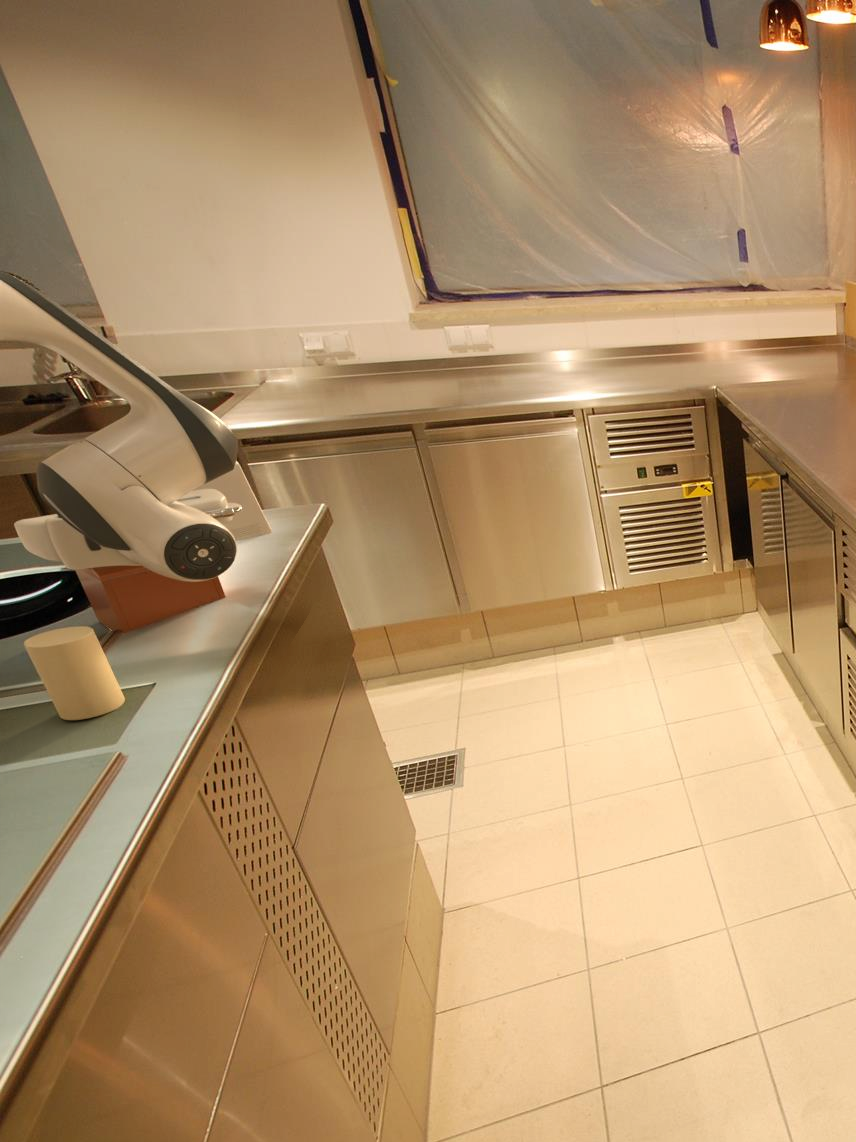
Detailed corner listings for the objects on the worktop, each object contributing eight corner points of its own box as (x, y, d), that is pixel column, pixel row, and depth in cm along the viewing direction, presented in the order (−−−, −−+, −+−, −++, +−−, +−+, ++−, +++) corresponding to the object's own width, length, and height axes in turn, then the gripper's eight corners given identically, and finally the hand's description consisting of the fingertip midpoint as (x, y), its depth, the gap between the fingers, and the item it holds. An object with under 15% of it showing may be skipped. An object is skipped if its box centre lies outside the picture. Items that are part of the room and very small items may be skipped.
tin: (99, 624, 114) (72, 564, 111) (201, 598, 123) (180, 542, 119) (128, 643, 109) (101, 581, 106) (232, 614, 118) (210, 556, 114)
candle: (69, 725, 91) (32, 651, 87) (52, 711, 94) (16, 638, 90) (133, 705, 95) (100, 633, 91) (115, 692, 98) (83, 622, 94)
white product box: (270, 532, 147) (231, 450, 139) (281, 548, 141) (240, 462, 133) (206, 548, 141) (161, 463, 133) (214, 565, 136) (168, 477, 128)
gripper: (240, 487, 112) (197, 471, 119) (28, 523, 96) (-7, 503, 103) (255, 532, 115) (213, 514, 121) (52, 574, 99) (16, 552, 106)
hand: (110, 509), depth 112 cm, fingers closed
